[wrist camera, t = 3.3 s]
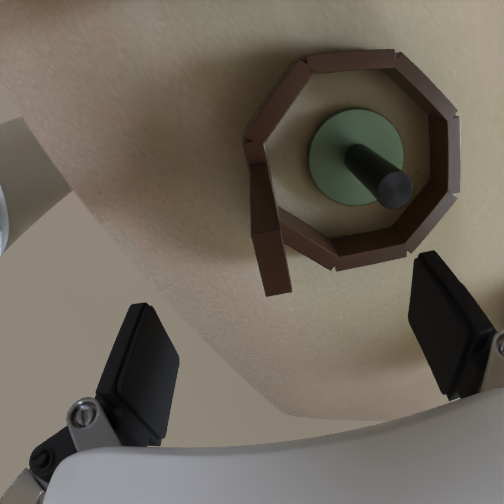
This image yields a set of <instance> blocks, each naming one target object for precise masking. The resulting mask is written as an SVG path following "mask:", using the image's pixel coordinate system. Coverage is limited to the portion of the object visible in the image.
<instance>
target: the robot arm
mask: <svg viewBox="0 0 504 504" xmlns="http://www.w3.org/2000/svg"><path fill="white" fill-rule="evenodd" d="M408 320H409V324H410V326H411V328H412V330H413V332H414V334H415V336H416V338H417V340H418V342H419V344H420V346H421V349H422V351H423V353H424V355H425V357H426V359H427V361H428V364H429V366H430V368H431V370H432V372H433V375H434V377H435V379H436V382H437V384H438V386H439V388H440V391H441V393H442V394H443V395H445V394H446V395H447V397H448V400H449V401H451V400H454V399H457V398H459V397H460V398H461V399H459V400H457V401H454V402H451V403H448V404H445V405H442V406H439V407H436V408H433V409H430V410H426V411H423V412H420V413H416V414H413V415H410V416H406V417H403V418H399V419H396V420H392V421H388V422H385V423H381V424H377V425H373V426H368V427H364V428H360V429H355V430H350V431H345V432H341V433H335V434H330V435H325V436H319V437H313V438H306V439H300V440H292V441H285V442H277V443H267V444H256V445H244V446H230V447H207V448H206V447H204V448H162V447H161V448H160V447H147V446H160V445H161V439H162V438H165V436H166V432H167V426H168V420H169V414H170V409H171V404H172V398H173V393H174V388H175V383H176V378H177V373H178V368H179V356H178V353H177V351H176V350H175V348H174V346H173V344H172V342H171V340H170V338H169V337H168V335H167V333H166V331H165V329H164V327H163V325H162V323H161V321H160V319H159V317H158V315H157V314H156V311H155V309H154V308H153V307H152V306H149V305H148V304H147V303H138V304H132V305H131V306H130V307H129V310H128V312H127V314H126V317H125V319H124V322H123V324H122V326H121V328H120V331H119V333H118V336H117V338H116V341H115V343H114V345H113V348H112V350H111V353H110V356H109V358H108V361H107V363H106V366H105V368H104V371H103V374H102V376H101V379H100V382H99V384H98V387H97V390H96V396H95V399H94V398H91V397H86V398H82V399H80V400H78V401H76V402H75V403H74V404H73V405H72V406H71V407H70V409H69V411H68V413H67V418H66V420H67V425H68V426H66V427H65V428H63V429H62V430H60V431H59V432H58V433H56V434H55V435H53V436H52V437H50V438H49V439H47V440H46V441H45V442H43V443H42V444H40V445H39V446H37V447H36V448H35V449H34V451H33V452H32V454H31V456H30V461H29V465H30V469H29V470H28V469H27V468H25V469H24V471H23V472H22V473H21V474H20V475H19V476H18V478H17V479H16V480H15V481H14V482H13V484H12V485H11V486H10V487H9V488H8V490H7V491H6V492H5V493H4V494H3V496H2V498H1V501H0V504H504V329H502V330H500V331H498V332H497V331H496V329H495V328H494V326H493V325H492V324H491V322H490V321H489V319H488V318H487V316H486V315H485V313H484V312H483V311H482V309H481V308H480V306H479V305H478V304H477V302H476V301H475V300H474V298H473V297H472V296H471V294H470V293H469V292H468V290H467V289H466V288H465V286H464V285H463V284H462V283H461V282H460V281H459V280H458V279H457V277H456V276H455V275H454V274H453V272H452V271H451V270H450V269H449V267H448V266H447V265H446V264H445V262H444V261H443V260H442V259H441V257H440V256H439V255H438V254H437V253H436V252H435V251H433V250H432V251H428V252H423V253H420V254H419V255H418V258H416V259H415V260H414V266H413V277H412V287H411V296H410V304H409V312H408Z"/></svg>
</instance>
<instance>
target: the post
mask: <svg viewBox="0 0 504 504" xmlns="http://www.w3.org/2000/svg"><path fill="white" fill-rule="evenodd" d="M403 161H404V151H403V145H402V141H401V138H400V136H399V134H398V132H397V130H396V129H395V127H394V126H393V125H392V124H391V123H390V122H389V121H388V120H387V119H386V118H385V117H383V116H382V115H380V114H378V113H376V112H374V111H371V110H368V109H363V108H347V109H343V110H340V111H337V112H335V113H333V114H331V115H330V116H328V117H327V118H325V119H324V120H323V121H322V122H321V123H320V124H319V125H318V127H317V128H316V129H315V131H314V133H313V135H312V137H311V139H310V142H309V145H308V151H307V162H308V168H309V172H310V174H311V177H312V179H313V181H314V182H315V184H316V186H317V187H318V188H319V190H320V191H321V192H322V193H323V194H324V195H325V196H327V197H328V198H329V199H331V200H333V201H335V202H337V203H340V204H343V205H348V206H361V205H366V204H370V203H372V202H375V201H377V200H378V201H379V202H380V203H381V204H382V205H383V206H384V207H386V208H388V209H398V208H401V207H402V206H404V205H405V204H406V203H407V202H408V201H409V199H410V198H411V195H412V192H413V185H412V181H411V179H410V177H409V176H408V175H407V174H406V173H404V172H403V171H402V167H403Z"/></svg>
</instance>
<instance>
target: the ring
mask: <svg viewBox="0 0 504 504" xmlns="http://www.w3.org/2000/svg"><path fill="white" fill-rule="evenodd" d="M365 69H380V70H382V71H383V72H384V73H385V74H386V75H387V76H388V77H390V78H391V79H392V80H393V81H394V82H395V83H396V84H397V85H398V86H399V87H401V88H402V89H403V90H404V91H405V92H406V93H407V94H408V95H409V96H410V97H411V98H412V99H413V100H414V101H415V102H416V103H417V104H418V105H419V106H420V107H421V108H422V109H423V110H424V111H425V112H426V113H427V114H428V117H429V133H430V162H431V179H430V180H429V182H428V183H427V184H426V186H425V187H424V188H423V189H422V191H421V192H420V193H419V194H418V196H417V197H416V198H415V199H414V201H413V202H412V203H411V204H410V206H409V207H408V208H407V209H406V211H405V212H404V213H403V214H402V215H401V217H400V218H399V219H398V220H397V221H396V223H395V224H394V225H393V226H392V227H391V228H386V229H381V230H375V231H370V232H365V233H360V234H355V235H349V236H344V237H339V238H334V239H330V238H328V237H327V236H325V235H323V234H322V233H320V232H319V231H317V230H316V229H314V228H313V227H311V226H309V225H308V224H306V223H305V222H303V221H301V220H300V219H298V218H297V217H295V216H293V215H292V214H290V213H289V212H287V211H285V210H284V209H282V208H281V207H279V206H277V203H276V198H275V193H274V188H273V183H272V178H271V173H270V168H269V164H268V159H267V154H266V149H265V145H264V143H265V142H266V140H267V139H268V137H269V136H270V134H271V133H272V132H273V130H274V129H275V127H276V126H277V124H278V123H279V122H280V120H281V119H282V117H283V116H284V115H285V113H286V112H287V110H288V109H289V108H290V106H291V105H292V103H293V102H294V101H295V99H296V98H297V97H298V95H299V94H300V92H301V91H302V90H303V88H304V87H305V86H306V84H307V83H308V82H309V80H310V79H311V78H312V76H313V75H314V74H321V73H330V72H340V71H351V70H365ZM456 112H457V109H456V108H455V107H454V106H453V105H452V104H451V102H450V101H449V100H448V99H447V98H446V97H445V96H444V94H443V93H442V92H441V91H440V90H439V89H438V88H437V87H436V86H435V85H434V84H433V83H432V82H431V81H430V79H429V78H428V77H427V76H426V75H425V74H424V73H423V72H422V71H421V70H420V69H419V68H418V67H417V66H416V65H415V64H414V63H413V62H411V61H410V60H409V59H408V58H407V57H406V56H405V55H404V54H403V53H402V52H398V53H395V50H394V49H376V50H354V51H339V52H328V53H318V54H309V55H305V56H302V57H299V59H298V60H295V61H292V62H291V64H290V65H289V66H288V68H287V69H286V71H285V72H284V73H283V75H282V76H281V77H280V79H279V80H278V82H277V83H276V84H275V86H274V87H273V89H272V90H271V91H270V93H269V94H268V96H267V97H266V99H265V100H264V101H263V103H262V104H261V106H260V107H259V109H258V110H257V112H256V113H255V114H254V116H253V117H252V119H251V120H250V122H249V123H248V125H247V126H246V128H245V135H244V136H243V147H244V152H245V156H246V160H247V165H248V169H249V173H250V214H251V237H252V241H253V245H254V250H255V254H256V258H257V262H258V266H259V270H260V274H261V278H262V282H263V286H264V291H265V295H266V297H268V296H273V295H279V294H284V293H290V292H292V286H291V280H290V275H289V269H288V264H287V258H286V253H285V248H284V244H286V245H288V246H289V247H291V248H293V249H295V250H296V251H298V252H300V253H301V254H303V255H305V256H307V257H308V258H310V259H312V260H313V261H315V262H317V263H318V264H320V265H322V266H323V267H325V268H327V269H329V270H330V271H331V270H332V268H333V267H335V269H336V271H342V270H347V269H352V268H356V267H361V266H366V265H371V264H376V263H380V262H385V261H390V260H394V259H399V258H403V257H406V255H407V251H409V252H410V253H412V252H413V251H414V250H415V249H416V248H417V247H418V246H419V244H420V243H421V242H422V241H423V240H424V239H425V237H426V236H427V235H428V234H429V233H430V231H431V230H432V229H433V228H434V227H435V225H436V224H437V223H438V222H439V221H440V219H441V218H442V217H443V216H444V214H445V213H446V212H447V211H448V209H449V208H450V207H451V206H452V204H453V203H454V202H455V201H456V199H457V197H456V196H455V194H454V193H457V192H460V171H461V132H460V117H459V116H456V115H455V114H456Z"/></svg>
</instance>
